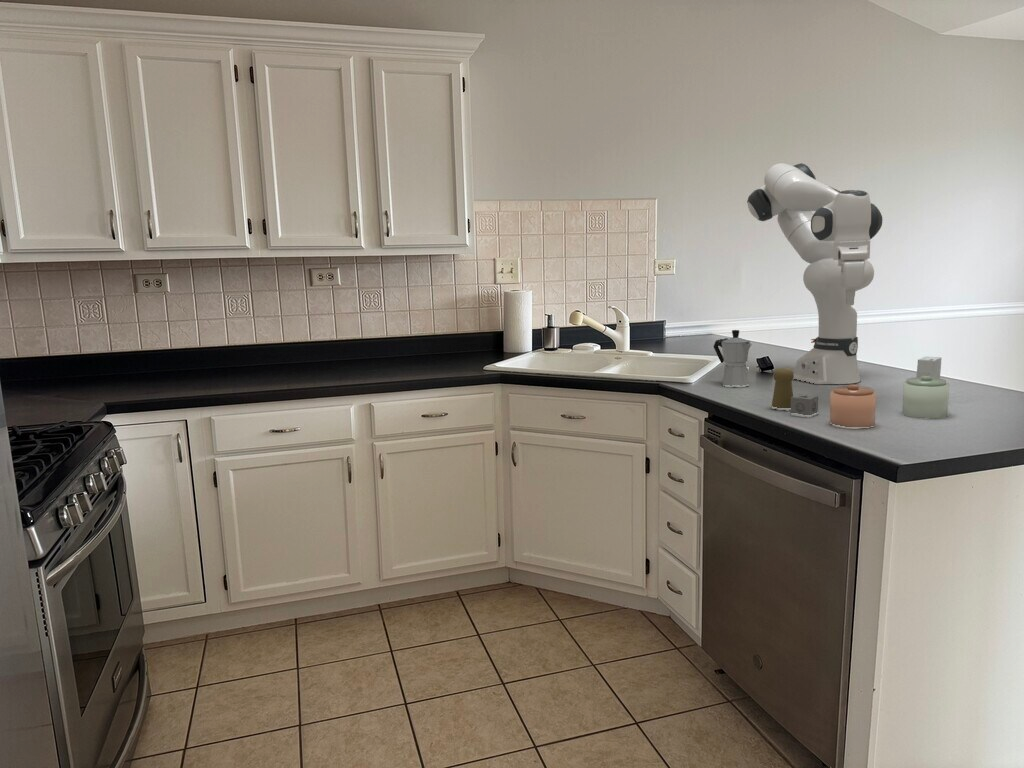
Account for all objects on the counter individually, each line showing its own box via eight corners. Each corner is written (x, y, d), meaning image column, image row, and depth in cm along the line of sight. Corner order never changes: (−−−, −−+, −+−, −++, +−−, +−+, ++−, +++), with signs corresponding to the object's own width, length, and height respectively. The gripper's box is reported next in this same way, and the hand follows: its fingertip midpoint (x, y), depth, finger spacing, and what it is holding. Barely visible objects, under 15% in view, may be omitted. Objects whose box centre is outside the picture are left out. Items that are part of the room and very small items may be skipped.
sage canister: (893, 414, 184) (895, 376, 182) (916, 408, 189) (918, 371, 187) (933, 421, 176) (935, 381, 174) (955, 414, 181) (958, 376, 179)
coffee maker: (760, 386, 230) (761, 329, 227) (742, 389, 225) (743, 332, 222) (723, 380, 242) (723, 327, 239) (705, 384, 237) (705, 329, 234)
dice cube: (790, 415, 188) (790, 397, 187) (799, 412, 192) (799, 394, 191) (809, 418, 185) (809, 399, 184) (817, 414, 188) (818, 395, 187)
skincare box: (921, 399, 200) (923, 355, 198) (939, 401, 196) (942, 356, 194) (913, 403, 195) (915, 358, 193) (932, 404, 192) (934, 359, 190)
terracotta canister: (820, 423, 178) (821, 384, 177) (848, 418, 183) (849, 380, 181) (856, 431, 169) (857, 390, 168) (884, 425, 174) (885, 385, 172)
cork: (766, 408, 198) (766, 368, 196) (783, 405, 200) (783, 366, 198) (782, 412, 193) (783, 371, 191) (799, 409, 195) (800, 369, 193)
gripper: (835, 252, 202) (834, 302, 204) (841, 253, 183) (839, 308, 185) (860, 251, 200) (858, 301, 202) (868, 252, 181) (866, 307, 183)
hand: (849, 305), depth 194 cm, fingers closed
